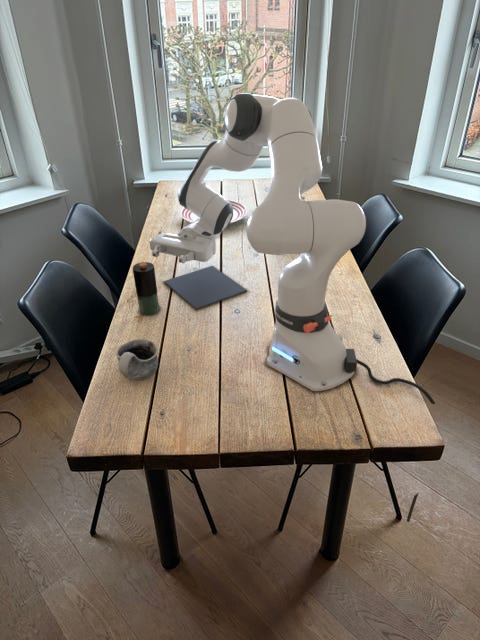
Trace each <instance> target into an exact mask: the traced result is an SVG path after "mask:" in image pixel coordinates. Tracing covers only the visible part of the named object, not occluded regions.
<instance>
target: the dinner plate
mask: <svg viewBox="0 0 480 640" xmlns="http://www.w3.org/2000/svg"><path fill="white" fill-rule="evenodd" d="M227 200H228V201H229V202H230V203H231V204H232V207H233V217H232V220H231V222H230V224H233V223H236V222H238V221H240V220H242V219H243V218H245V217H246V216H247V214H248V208H247V206H246V205H244V204H243V203H242V202H239V201H236V200H234V199H233V200H232V199H227ZM180 217H181V218H182V219H183V220H184V221H186V222H189V223H190V224H191V223H193V222H194V221H195V220H196V219H198V218H199V217H198V216H197V215H195V214H194V213H193V212H191V211H190V210H188V209H186V208H185V207H183V208H182V209H181V210H180Z"/></svg>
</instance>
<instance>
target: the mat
mask: <svg viewBox="0 0 480 640" xmlns="http://www.w3.org/2000/svg"><path fill="white" fill-rule="evenodd" d="M163 282H164V284H165V285H166V286H168V287H169V289H171V290H172V291H173V292H175V293H176V295H178V296H179V297H180V298H182V300H184V301H185V302H186V303H187V304H189V305H190V306H191V307H192V308H193V309H194V310H195V311H197V310H200V309H203V308H206V307H208V306H211V305H214V304H217V303H219V302H222V301H225V300H228V299H231V298H233V297H236V296H239V295H241V294H244V293H246V292H248V291H247V289H246V288H244V287H243V286H242V285H241V284H239V283H238V282H236V281H235V280H233V279H232V278H230V277H229V276H227V275H226V274H225V273H224V272H222V271H221V270H219V269H218V268H216V267H214V265H210V266H207V267H204V268H201V269H197V270H195V271H191V272H188V273H185V274H182V275H179V276H176V277H173V278H169V279H166V280H164V281H163Z"/></svg>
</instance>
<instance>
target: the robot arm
mask: <svg viewBox="0 0 480 640" xmlns="http://www.w3.org/2000/svg"><path fill="white" fill-rule="evenodd" d="M224 127H225V131H224V134H223V136H222V138H221V139H214V140H213V141H211V142H210V143H209V144H207V146H206V147H205V148H204V149H203V151H202V152H201V154H200V156H199V157H198V159H197V161H196V162H195V164H194V166H193V167H192V169H191V171H190V172H189V174H188V175H187V177H186V179H185V180H184V181H183V183H182V184H181V185H180V187H179V188H178V191H177V200H178V203H179V205H180V206H181V207H183V208H184V207H185V208H186V209H188V210H190V211H191V212H193V213H194V214H195V215H197V216H198V217H199V218H198V219H196V220H195V221H194V222H193V223H191V222H190V223H188V224H187V225H186V226H184V227H183V228H181V229H180V230H179V231H178V233H177V234H174V233H170V232H162V233H159V234H157V235H154V236H153V237H151V238H150V239H149V247H150V250H151V256H152V257H155V258H158V257H159V256H160V253H162V254H165V255H169V256H170V255H171V256H173V257H174V256H175V257H178V263H180V264H185V263H187V262H191V261H197V262H201V263H205V262H208V261H209V260H211V259H212V258H213V256H214V255H216V252H217V242H216V239H217V238H218V237H219V236H220V235H221V234H222V233H223V232H224V231H226V229H227V228H228V227H229V225H231V223H230V222H231V220H232V217H233V207H232V204H231V203H230V202H229V201H228V200H229V199H227V198H225V196H224V195H222V194H221V193H218V192H217V191H216V190H214V189H213V188H212V187H210V186H209V185H208V184H207V182H206V181H205V178H206V176H208V174H209V172H210V170H211V169H212V168H213V167H214V168H217V169H218V168H219V169H222V170H225V171H228V172H234V173H239V172H244V171H247V170H249V169H251V168H252V167H253V166H254V165H255V163H256V162H257V160H258V158H259V157H260V155H261V153H262V151H263V149H264V147H267V150H268V156H269V157H268V158H269V165H270V180H271V181H270V186H269V189H268V193H267V194H266V196H265V198H264V199H263V201H262V202H261V203H260V204H259V205H257V206H256V207H255V208H254V209H253V210H252V212H250V214H249V216H248V219H247V222H246V227H245V231H246V233H245V234H246V238H247V241H248V243H249V244H250V247H251V248H252V249H253V250H254V251H255V252H256V253H258V254H263V255H272V256H287V255H298V254H299V256H298V257H297V258H296V259H294V260H292V261H290V262H289V263H288V264H286V265H285V266H284V267H283V268H282V270H281V271H280V273H279V275H278V282H277V300H276V302H275V306H274V317H275V324H274V328H273V331H272V336H271V342H270V345H269V349H268V353H269V355H268V356H267V358H266V365H267V366H269V367H270V368H272V369H274V370H275V371H278V372H279V373H281V374H283V375H284V376H286V377H288V378H290V379H291V380H293V381H295V382H297V383H298V384H300V385H302V386H303V387H305V388H307V389H309V391H310V390H311V391H312V392H323V391H327V390H330V389H333V388H336V387H338V386H340V385H342V384H344V383H345V382H347V381H348V380H350V379H351V378H352V377H353V376H354V374H355V373H356V371H357V365H360V366H362V367H363V368H365V369H366V371H367V375H368V378H369V379H370V380H371V381H373V382H374V383H376V384H379V385H380V384H381V385H389V384H392V383H395V382H399V383H404V384H407V385H410V386H412V387H414V388H416V389H417V390H418V391H420V392H421V393H422V394H423V395H424V396H425V397H426V398H427V399H428V401H429V402H430V403H431V404H432V405H435V404H436V402H435V401H434V399H433V398H432V396H431V395H430V394H429V392H427V391H426V390H425V388H423V387H422V386H421V385H419V384H418V383H415V382H413V381H411V380H407V379H404V378H399V377H393V378H391V379H388V380H381V379H377V378H376V377H374V376H373V374H372V370H371V368H370V366H369V365H368V364H367V363H365V362H363V361H361V360H359V359H357V356H356V352H355V348H346V345H345V344H344V343H343V337H342V335H341V334H340V333H336V330H335V329H334V328H333V326H332V325H331V323H330V321H331V320H332V319H333V318H332V317H333V315H332V314H330V315H329V314H328V309H327V306H326V302H325V301H326V295H327V290H328V289H327V288H328V283H329V279H330V276H331V274H332V272H333V270H334V269H335V267H336V265H338V262H339V261H340V260H341V259H342V258H343V256H344V255H346V254H347V253H348V252H349V251H350V250H351V249H353V248H354V247H356V246H357V245H359V244H360V242H361V241H362V239H363V238H364V236H365V233H366V228H367V218H366V215H365V213H364V210H363V209H362V207H361V206H360V205H359V204H358V203H357V202H355V201H351V200H345V199H336V198H333V199H318V200H317V199H316V200H303V199H302V198H301V195H303V194H305V193H306V192H308V191H310V190H312V189H313V188H314V187H315V186H316V185H317V184H318V183H319V182H320V180H321V177H322V176H323V165H322V164H323V163H322V159H321V152H320V147H319V142H318V136H317V131H316V128H315V125H314V121H313V117H312V113H311V111H310V110H309V108H308V107H307V105H306V104H305V103H304V102H303V101H302V100H301V99H299V98H296V97H286V98H283V99H282V98H281V99H280V98H276V97H274V96H268V95H262V94H251V93H249V92H240V93H236V94H234V95H233V96H232V97H231V98H230V99H229V101H228V103H227V105H226V107H225V114H224ZM418 496H419V492H417V493H416V494H415V495H413V498H412V501H411V505H410V508H409V510H408V514H407V518H406V522H407V523H410V522H411V517H412V514H413V511H414V508H415V505H416V502H417V499H418Z"/></svg>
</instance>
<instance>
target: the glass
mask: <svg viewBox="0 0 480 640" xmlns="http://www.w3.org/2000/svg"><path fill="white" fill-rule="evenodd" d="M136 296H137V304H138V311H139V313H140V314H141V315H144V316H153V315H155V314H157V313H158V312H159V311H160V304H159V297H158V292H157V293H156V294H155V295H153V296H151V297H140V296H138V295H137V294H136Z"/></svg>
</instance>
